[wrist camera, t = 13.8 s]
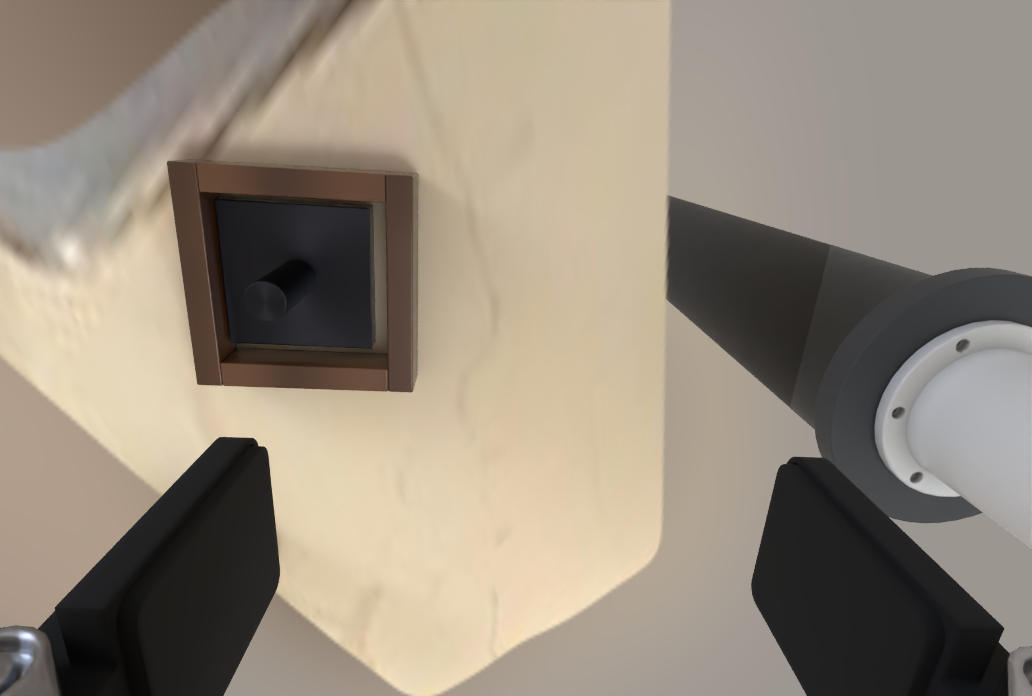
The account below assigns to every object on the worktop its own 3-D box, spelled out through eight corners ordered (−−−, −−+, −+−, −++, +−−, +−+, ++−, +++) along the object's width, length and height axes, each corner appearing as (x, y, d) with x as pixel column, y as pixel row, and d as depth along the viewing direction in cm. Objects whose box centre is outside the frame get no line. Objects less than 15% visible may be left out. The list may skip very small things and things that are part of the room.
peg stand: (373, 206, 32) (348, 220, 26) (375, 342, 34) (353, 383, 29) (224, 196, 31) (164, 210, 25) (238, 335, 34) (187, 376, 28)
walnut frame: (418, 173, 31) (413, 176, 29) (417, 376, 35) (412, 392, 33) (190, 159, 30) (165, 160, 28) (216, 368, 34) (196, 385, 32)
